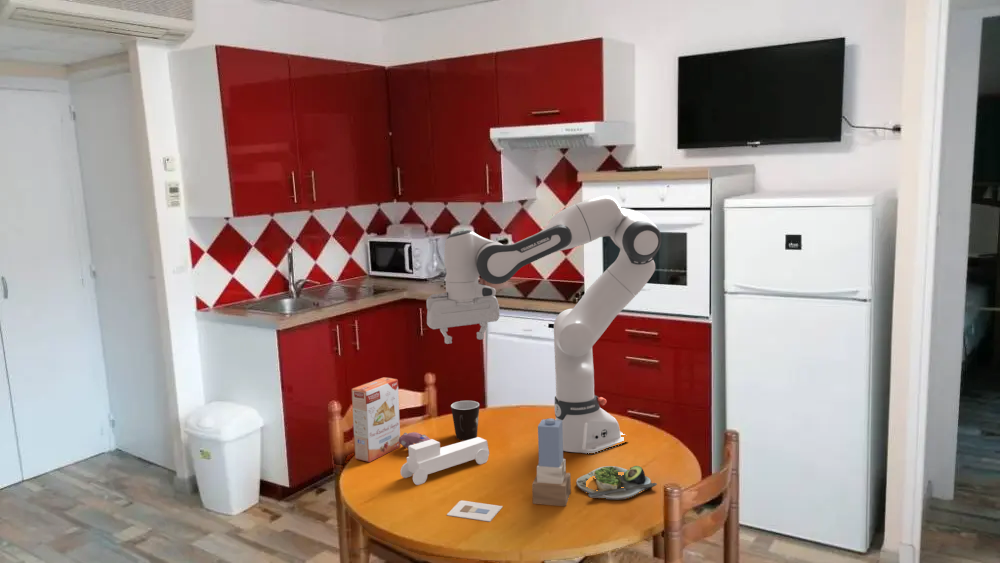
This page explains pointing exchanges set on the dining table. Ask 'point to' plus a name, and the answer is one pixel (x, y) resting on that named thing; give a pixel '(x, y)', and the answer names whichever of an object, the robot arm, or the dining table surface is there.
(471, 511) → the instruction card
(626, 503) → the dining table surface
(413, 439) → the video game controller
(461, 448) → the toy truck
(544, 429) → the blue brick
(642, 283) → the robot arm
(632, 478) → the salad plate
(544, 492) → the tower base
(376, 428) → the cracker box
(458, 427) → the coffee mug
